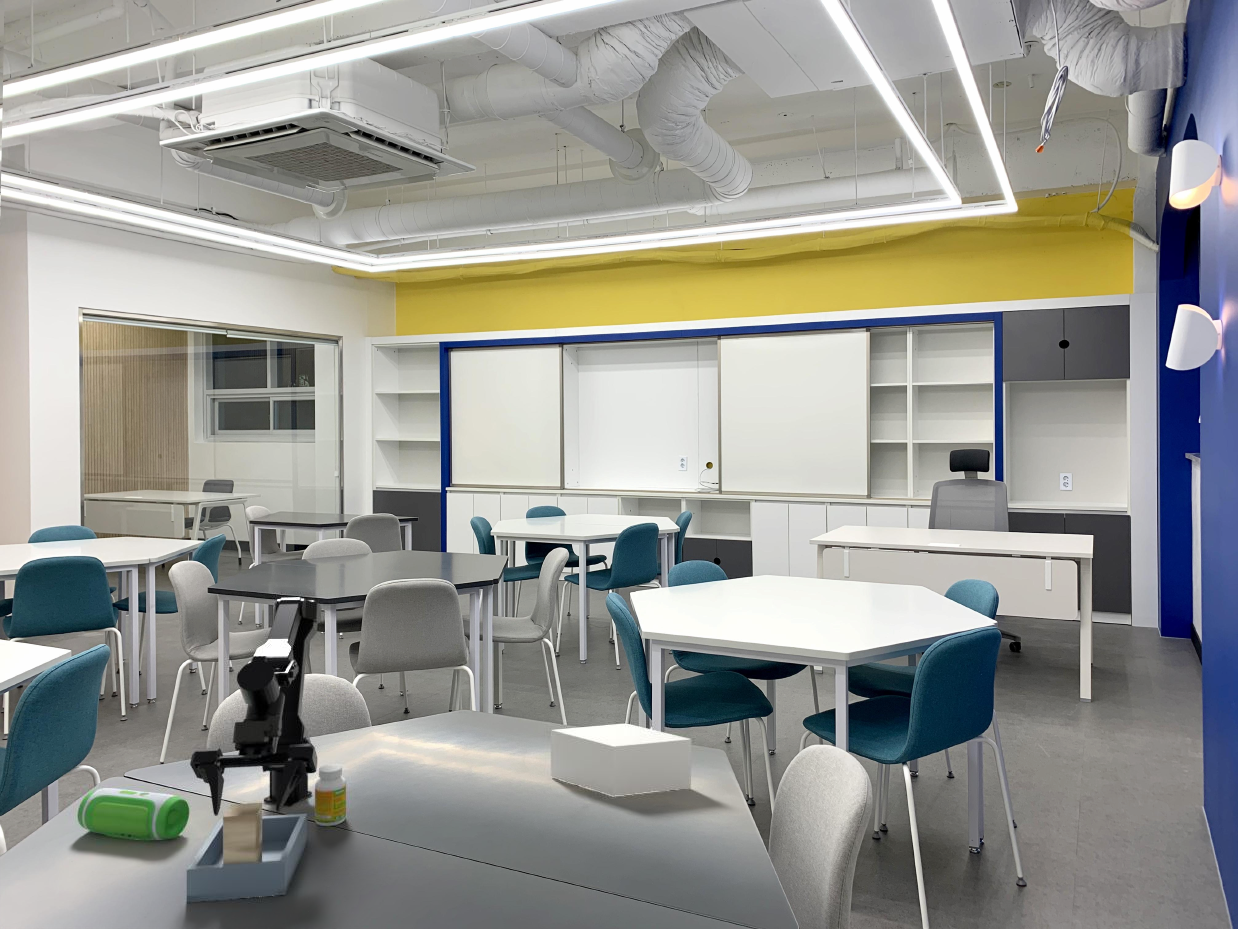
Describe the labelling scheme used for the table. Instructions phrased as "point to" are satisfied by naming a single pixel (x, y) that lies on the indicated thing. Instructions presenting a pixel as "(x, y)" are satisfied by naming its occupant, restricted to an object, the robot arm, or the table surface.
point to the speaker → (133, 814)
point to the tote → (251, 879)
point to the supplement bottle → (330, 796)
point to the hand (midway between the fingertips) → (246, 813)
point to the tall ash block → (242, 833)
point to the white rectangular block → (621, 759)
